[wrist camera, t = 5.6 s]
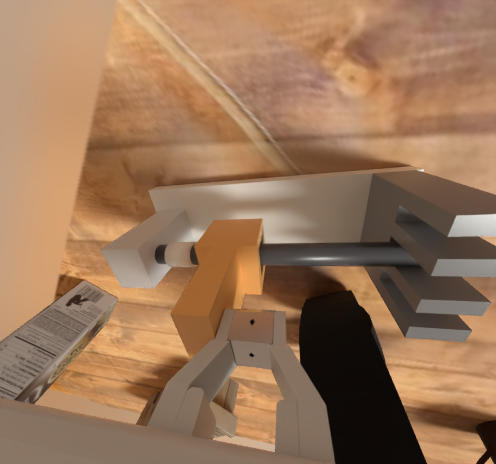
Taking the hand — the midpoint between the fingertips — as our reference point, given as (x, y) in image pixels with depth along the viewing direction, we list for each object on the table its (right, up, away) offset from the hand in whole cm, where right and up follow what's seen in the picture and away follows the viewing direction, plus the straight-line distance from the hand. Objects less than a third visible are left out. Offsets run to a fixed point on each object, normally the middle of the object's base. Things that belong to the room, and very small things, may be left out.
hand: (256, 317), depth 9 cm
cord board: (+2, +6, +11) cm, 12 cm away
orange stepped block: (-1, +4, +7) cm, 8 cm away
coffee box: (-27, -8, +24) cm, 37 cm away
